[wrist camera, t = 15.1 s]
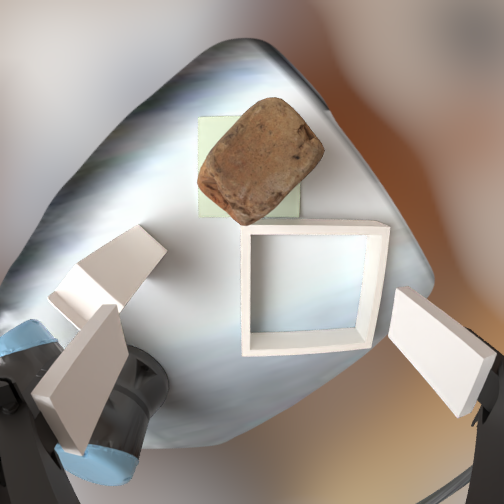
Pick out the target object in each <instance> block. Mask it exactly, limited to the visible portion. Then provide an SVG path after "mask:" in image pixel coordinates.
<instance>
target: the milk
mask: <svg viewBox="0 0 504 504" xmlns="http://www.w3.org/2000/svg"><path fill="white" fill-rule="evenodd" d="M166 253H167V250H166V249H165V248H164V247H163V246H162V245H161V244H159V243H158V242H157V241H156V240H155V239H154V238H153V237H152V236H151V235H149V234H148V233H147V232H146V231H145V230H144V229H143V228H142V227H141V226H140V225H136V226H134V227H133V228H131V229H129V230H128V231H126V232H125V233H123V234H121V235H120V236H118V237H116V238H115V239H113V240H112V241H110V242H109V243H107V244H105V245H104V246H102V247H101V248H99V249H98V250H96V251H95V252H93V253H92V254H90V255H88V256H87V257H85V258H84V259H82V260H81V261H79V262H78V263H77V264H76V265H75V266H74V267H73V268H72V270H71V271H70V272H69V273H68V275H67V276H66V277H65V278H64V280H63V281H62V282H61V284H60V285H59V286H58V288H57V289H56V290H55V291H54V292H53V293H52V294H51V295H49V296H48V301H49V302H50V303H51V304H52V305H53V306H54V307H55V308H56V309H57V310H58V311H59V312H60V313H61V314H62V315H64V316H65V317H66V318H67V319H68V320H69V321H70V322H71V323H72V324H73V325H74V326H75V327H77V328H78V329H79V330H81V329H82V328H83V326H84V325H85V324H86V323H87V322H88V321H89V319H90V318H91V317H92V316H93V315H94V314H95V312H96V311H97V310H98V309H99V308H100V307H101V305H102V304H117V307H118V312H119V313H120V312H121V311H122V309H123V308H124V307H125V305H126V304H127V303H128V301H129V300H130V299H131V297H132V296H133V295H134V293H135V292H136V291H137V290H138V288H139V287H140V286H141V284H142V283H143V282H144V280H145V279H146V278H147V277H148V275H149V274H150V273H151V271H152V270H153V269H154V268H155V266H156V265H157V264H158V263H159V261H160V260H161V259H162V257H163V256H164V255H165V254H166Z"/></svg>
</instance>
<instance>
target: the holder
mask: <svg viewBox="0 0 504 504" xmlns="http://www.w3.org/2000/svg"><path fill="white" fill-rule="evenodd" d="M266 234H289V235H367V243H366V253H365V262H364V271H363V278H362V286H361V293H360V300H359V307H358V313H357V319H356V325H355V327H352V328H339V329H325V330H309V331H288V332H256V333H250V260H251V235H266ZM389 235H390V227H389V226H387V225H385V224H382V223H380V222H378V221H375V220H340V219H260V220H258V221H256V222H255V223H253V224H251V225H248V226H242V225H241V346H242V357H249V356H280V355H299V354H314V353H327V352H338V351H348V350H357V349H366V348H371V345H372V341H373V336H374V331H375V327H376V322H377V317H378V311H379V306H380V300H381V294H382V288H383V282H384V275H385V268H386V261H387V253H388V244H389Z"/></svg>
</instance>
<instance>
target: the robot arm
mask: <svg viewBox="0 0 504 504" xmlns="http://www.w3.org/2000/svg"><path fill="white" fill-rule="evenodd" d="M388 337H389V338H390V339H391V340H392V341H393V343H394V344H395V345H396V346H397V347H398V348H399V350H400V351H401V352H402V353H403V354H404V355H405V356H406V357H407V359H408V360H409V361H410V362H411V363H412V364H413V366H414V367H415V368H416V369H417V370H418V371H419V372H420V374H421V375H422V376H423V377H424V379H425V380H426V381H427V382H428V383H429V384H430V386H431V387H432V388H433V389H434V390H435V392H436V393H437V394H438V395H439V396H440V398H441V399H442V400H443V401H444V402H445V404H446V405H447V406H448V407H449V408H450V409H451V411H452V412H453V413H454V415H455V416H456V417H457V418H460V417H462V416H464V415H466V414H468V413H471V412H472V410H473V408H474V406H475V404H476V401H477V400H478V401H479V402H480V403H481V407H480V409H479V411H478V413H477V415H476V417H475V419H474V420H473V422H472V425H471V426H474V424H475V423H476V422H477V421H478V425H477V437H476V446H475V454H474V461H473V468H472V474H471V480H470V485H469V490H468V495H467V499H466V503H465V504H504V356H503V355H502V354H501V353H500V352H499V351H497V350H496V349H495V348H494V347H492V346H491V345H490V344H489V343H487V342H486V341H484V340H483V339H482V338H481V337H478V335H477V334H475V333H474V332H473V331H472V330H471V329H468V328H466V327H464V326H462V325H461V324H459V323H458V322H457V321H455V320H454V319H453V318H451V317H450V316H449V315H447V314H446V313H445V312H443V311H442V310H441V309H439V308H438V307H437V306H435V305H434V304H432V303H431V302H430V301H428V300H427V299H426V298H424V297H423V296H422V295H420V294H419V293H417V292H416V291H415V290H413V289H412V288H410V287H409V286H406V287H398V288H396V291H395V299H394V305H393V312H392V318H391V323H390V329H389V334H388ZM168 388H169V383H168V378H167V375H166V373H165V371H164V370H163V368H162V367H161V365H160V364H159V363H158V362H157V361H156V360H155V359H154V358H153V357H151V356H150V355H149V354H147V353H145V352H144V351H142V350H140V349H138V348H135V347H132V346H129V345H126V342H125V338H124V334H123V329H122V325H121V321H120V316H119V312H118V307H117V304H102V305H101V307H100V308H99V309H98V310H97V311H96V312H95V314H94V315H93V316H92V317H91V318H90V319H89V321H88V322H87V323H86V324H85V325H84V326H83V328H82V329H81V330H80V331H79V332H78V334H77V335H76V336H75V337H74V338H73V340H72V341H71V342H70V343H69V345H68V346H67V347H66V348H65V350H64V349H63V348H62V346H61V345H60V344H59V343H58V340H57V339H56V338H54V337H53V336H52V335H51V333H50V332H49V331H48V330H47V329H46V327H45V326H44V325H43V324H42V323H41V322H40V321H38V320H35V319H30V320H27V321H25V322H23V323H22V324H20V325H18V326H16V327H15V328H13V329H11V330H10V331H8V332H7V333H5V334H4V335H2V336H1V337H0V504H80V502H79V500H78V498H77V496H76V494H75V492H74V490H73V488H72V486H71V484H70V481H69V479H68V477H67V475H66V473H65V470H67V471H68V472H70V473H72V474H73V475H75V476H77V477H79V478H81V479H84V480H86V481H89V482H92V483H96V484H100V485H105V486H120V485H124V484H126V483H128V482H129V481H130V480H131V479H132V477H133V474H134V472H135V469H136V466H137V465H138V463H139V461H138V460H139V456H140V452H141V448H142V444H143V441H144V437H145V433H146V430H147V426H148V422H149V419H150V418H151V417H152V416H153V415H154V413H155V412H156V411H157V410H158V409H159V408H160V407H161V406H162V404H163V403H164V401H165V399H166V396H167V392H168ZM64 469H65V470H64Z"/></svg>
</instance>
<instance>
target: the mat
mask: <svg viewBox="0 0 504 504" xmlns="http://www.w3.org/2000/svg"><path fill="white" fill-rule="evenodd" d="M240 117H241V116H216V117H198V174H199V171H200V168H201V166H202V165H203V163H204V161H205V159H206V156H207V155H208V153H209V152H210V150H211V149H212V148H213V147H214V146H215V144H216V143H217V142H218V141H219V140H220V138H221V137H222V136H223V135H224V134H225V133H226V132H227V131H228V130H229V129H230V128H231V127H232V126H233V125H234V124H235V122H236V121H237V120H238V119H239V118H240ZM198 210H199V218H201V217H231V216H230V215H229V214H228V213H227V212H226V211H224V210H223V209H221V208H220V207H219V206H218V205H216V204H215V203H214V202H213V201H212V200H210V199H209V198H208V197H207V196H205V195H204V193H203V192H202V191H201V190H200V188H199V186H198ZM299 213H300V183H299V184H298V185H297V186H296V187H295V188H294V189H293V190H292V191H291V192H290V193H289V194H288V195H287V196H286V197H285V198H284V199H283V200H282V201H281V203H280V204H279V205H278V206H277V207H276V208H275V209H274V210H272V211H271V212H270V213H269V214H267V215H266V216H265V217H299Z"/></svg>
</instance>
